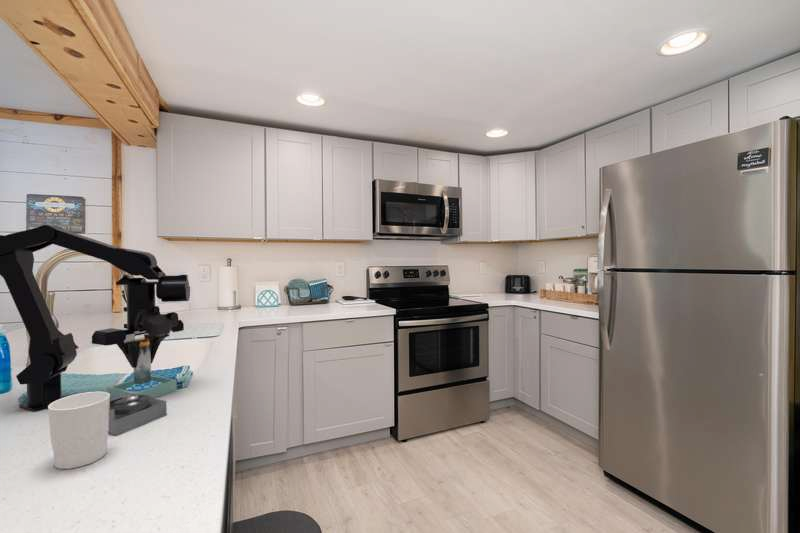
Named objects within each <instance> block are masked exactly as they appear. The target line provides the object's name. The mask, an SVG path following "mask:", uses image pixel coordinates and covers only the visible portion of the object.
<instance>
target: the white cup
mask: <svg viewBox="0 0 800 533" xmlns="http://www.w3.org/2000/svg"><path fill="white" fill-rule="evenodd" d="M63 397H64V398H61V399H59V400H56V401H54V402H52V403H51V404H50V405H49V406H48V407H47V408H48V409H47V410H48V421H49V422H48V424H49V435H50V442H51V449H52V453H53V463H54V464H53V465H54V468H57V469H59V470H71V469H76V468H80V467H83V466H86V465H89V464H92V463H94V462H96V461H98V460H100V459H102V458H103V457H104V455H106V454H107V452H108V438H109V437H108V436H109V434H108V430H109V411H110V394H109V393H107V391H89V392H82V393H77V394H75V393H74V394H71V395H69V396H63Z"/></svg>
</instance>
